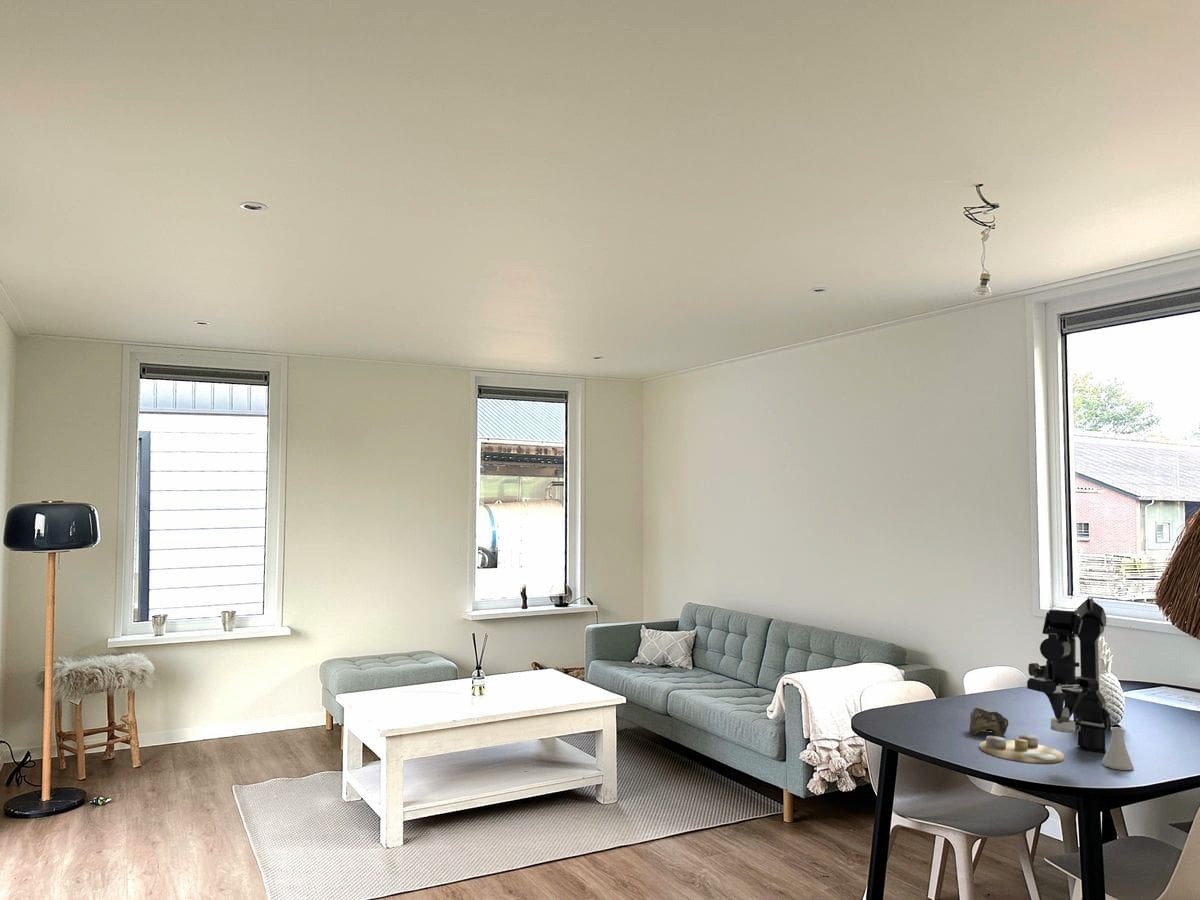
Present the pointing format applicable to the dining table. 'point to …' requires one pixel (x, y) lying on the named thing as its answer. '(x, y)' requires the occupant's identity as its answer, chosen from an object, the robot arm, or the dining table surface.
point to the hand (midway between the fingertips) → (1062, 718)
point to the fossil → (987, 722)
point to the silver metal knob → (1063, 722)
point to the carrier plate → (1020, 755)
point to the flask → (1117, 752)
